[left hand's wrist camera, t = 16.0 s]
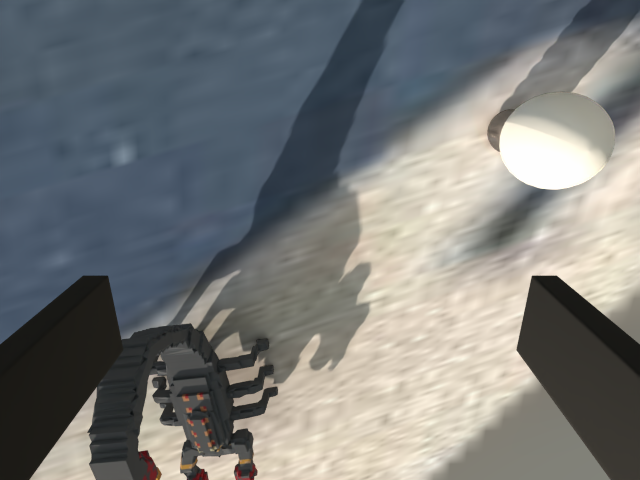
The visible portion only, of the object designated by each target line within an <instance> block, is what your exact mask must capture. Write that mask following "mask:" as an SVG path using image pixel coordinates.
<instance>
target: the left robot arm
mask: <svg viewBox="0 0 640 480" xmlns="http://www.w3.org/2000/svg"><path fill="white" fill-rule="evenodd" d="M122 351H123V345H122V340H121V336H120V331H119V326H118V321H117V317H116V312H115V307H114V302H113V297H112V293H111V288H110V283H109V278H108V276H82V277H81V278H80V279H79V280H77V281H76V282H75V283H74V284H73V285H71V286H70V287H69V288H68V289H67V290H65V291H64V292H63V293H62V294H61V295H59V296H58V297H57V298H56V299H55V300H53V301H52V302H51V303H50V304H49V305H47V306H46V307H45V308H44V309H43V310H41V311H40V312H39V313H38V314H36V315H35V316H34V317H33V318H32V319H30V320H29V321H28V322H27V323H26V324H24V325H23V326H22V327H21V328H20V329H18V330H17V331H16V332H15V333H14V334H12V335H11V336H10V337H9V338H8V339H6V340H5V341H4V342H3V343H1V344H0V480H29V479H30V478H31V477H32V475H33V474H34V473H35V471H36V470H37V468H38V467H39V466H40V464H41V463H42V462H43V460H44V459H45V457H46V456H47V455H48V453H49V452H50V450H51V449H52V448H53V446H54V445H55V444H56V442H57V441H58V439H59V438H60V437H61V435H62V434H63V433H64V431H65V430H66V428H67V427H68V426H69V424H70V423H71V422H72V420H73V419H74V417H75V416H76V415H77V413H78V412H79V411H80V409H81V408H82V406H83V405H84V404H85V402H86V401H87V400H88V398H89V397H90V395H91V394H92V393H93V391H94V390H95V389H96V387H97V386H98V384H99V383H100V382H101V380H102V379H103V378H104V376H105V375H106V373H107V372H108V371H109V369H110V368H111V367H112V365H113V364H114V362H115V361H116V360H117V358H118V357H119V356H120V354H121V353H122ZM517 351H518V353H519V354H520V356H521V357H522V358H523V360H524V361H525V362H526V364H527V365H528V367H529V368H530V369H531V371H532V372H533V373H534V375H535V376H536V378H537V379H538V380H539V382H540V383H541V384H542V386H543V387H544V389H545V390H546V391H547V393H548V394H549V395H550V397H551V398H552V400H553V401H554V402H555V404H556V405H557V406H558V408H559V409H560V411H561V412H562V413H563V415H564V416H565V417H566V419H567V420H568V422H569V423H570V424H571V426H572V427H573V428H574V430H575V431H576V433H577V434H578V435H579V437H580V438H581V439H582V441H583V442H584V444H585V445H586V446H587V448H588V449H589V450H590V452H591V453H592V455H593V456H594V457H595V459H596V460H597V461H598V463H599V464H600V466H601V467H602V468H603V470H604V471H605V472H606V474H607V475H608V477H609V478H610V479H611V480H640V344H638V343H637V342H636V341H635V340H634V339H632V338H631V337H630V336H629V335H628V334H626V333H625V332H624V331H623V330H622V329H620V328H619V327H618V326H617V325H616V324H614V323H613V322H612V321H611V320H610V319H608V318H607V317H606V316H605V315H604V314H602V313H601V312H600V311H599V310H597V309H596V308H595V307H594V306H593V305H591V304H590V303H589V302H588V301H587V300H585V299H584V298H583V297H582V296H581V295H579V294H578V293H577V292H576V291H575V290H573V289H572V288H571V287H570V286H569V285H567V284H566V283H565V282H564V281H562V280H561V279H560V278H559V277H558V276H532V278H531V283H530V288H529V293H528V297H527V302H526V307H525V312H524V317H523V321H522V326H521V331H520V336H519V340H518V345H517Z"/></svg>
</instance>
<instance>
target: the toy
mask: <svg viewBox="0 0 640 480" xmlns="http://www.w3.org/2000/svg"><path fill="white" fill-rule="evenodd" d="M122 345H123V351H122V353H121V354H120V356H119V357H118V358H117V360H116V361H115V362H114V364H113V365H112V367H111V368H110V369H109V371H108V372H107V373H106V375H105V376H104V378H103V379H102V380H101V382H100V383H99V384H98V386H97V398H96V402H95V406H94V413H93V419H92V425H91V427H90V429H89V431H88V432H87V433H90V434H89V437H90V439H91V441H92V442H91V444H90V450H91V454H92V460H91V462H90V463H89V465H90V467H91V470H92V472H93V474H94V476H95V478H96V480H160V477H161V475H162V474H161V472H160V470H159V469H158V467H156V465H155V463H154V461H153V460H152V458H151V457H150V456H149V453H148V450H147V451H140V452H138V442H139V441H138V438H137V437H138V436H139V433H140V425H141V422H142V418H143V416H142V411H143V407H144V402H145V398H146V392H147V384H148V382H147V381H148V377H149V375H153V374H158V376H161V375H167V379H168V383H169V388H170V390H165V389H166V387H167V385H166V379H165V377H156V378H153V380H152V383H153V386H154V388H158V389H157V390H156V392H155V393H154V394H153V395H152V396H153V398H154V401H155V402H156V403H160V407H161V408H165V409H164V411H163V413H162V415H161V417H160V421H161V423H162V424H163V425H168V426H183V429H184V432H185V435H186V438H187V440H186V442H184V445H183V449H182V451H183V452H182V457H181V464H180V473H184V474H185V475H186V476H187V480H208V474H207V472H205V470H204V469H200V468H199V467H198V466H196V463H197V461H198V460H197V457H198V456H200V455H202V456H219V457H220V456H221V455H226V454H232V453H236V454H238V455H239V463H238V464H237V465H236V466H235V470H234V475H235V478H236V480H254V476H256V475H257V469H256V468H255V464H254V463H253V460H252V459H253V455H254V453H253V448H252V445H253V436H252V433H251V432H249V431H248V429H241V430H237V431H236V432H235V433H233V428H234V426H233V422H234V420H239V419H244V418H249V417H254V416H258V415H261V414H264V413H265V410H266V407H267V404H268V400H269V397H273V396H276V395H278V388H277V387H272V388H267V389H265V390H264V392H263V396H262V399H261V400H260V401H259V402H258V403H252V404H247V405H241V406H237V407H235V406H233V403H234V400H233V398H240V397H242V396H244V395H246V394H254V393H256V392H258V391H260V390H262V389H263V384H264V379H265V376H267V375H270V374H273V372H274V368H273V366H264V367H260V369H259V373H258V378H255V379H254V381H246V382H241V383H235V384H232V385H229V381H228V378H227V374H226V371H228V370H235V369H241V368H247V367H252V366H254V363H255V361H256V359H257V355H258V353H259V352H260V351H264V350H267V349H268V348H269V344H268V339H261V340H257V345H255V346H253V348H252V351H251V354H247V355H241V356H238V357H233V358H224V359H220V360H219V358H218V356H217V355H216V353H215V352H214V350H213V349H212V347H211V346H210V344H209V342H208V340H207V338H206V336H205V334H204V332H203V331H198V330H196V329H194V328H193V326H192V324H182V325H172V326H162V327H157V328H150V329H146V330H142V331H138V332H134V334H133V335H132V336H131V338H130V339H122ZM159 355H161V358H162V360H163V361H164V362H162V361H159V362H157V360H158V358H159ZM173 408H174V410H175V412H173Z"/></svg>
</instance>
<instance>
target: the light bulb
mask: <svg viewBox="0 0 640 480" xmlns="http://www.w3.org/2000/svg"><path fill="white" fill-rule="evenodd" d="M488 140H489V142H490V144H491V145H492V146H493V148H494V149H496V150H497V151H499V152H500V154H501V157H502V160H503V162H504V164H505V165H506V167H507V168H508V170H509V171H510V172H511V173H512V174H513V175H514V176H515V177H516V178H518V179H519V180H521V181H523V182H524V183H526V184H529V185H532V186H535V187H538V188H543V189H565V188H568V187H572V186H575V185H579V184H581V183H583V182H585V181H587V180H589V179H590V178H592V177H593V176H594V175H596V174H597V173H598V172H599V171H600V170H601V169H602V168H603V167H604V166H605V164H606V163H607V162H608V160H609V158H610V157H611V154H612V152H613V149H614V143H615V130H614V126H613V122H612V120H611V119H610V117H609V115H608V114H607V112H606V111H605V110H604V109H603V108H602V107H601V106H600V105H599V104H598V103H596V102H595V101H593V100H591V99H590V98H588V97H586V96H583V95H580V94H576V93H570V92H554V93H546V94H542V95H539V96H536V97H534V98H532V99H530V100H528V101H526V102H524V103H523V104H521V105H520V106H519V107H517V108H516V109H515V110H505V111H503V112H500V113H499V114H497V115H496V116H495V117H494V118H493V119H492V121H491V122H490V124H489V127H488Z"/></svg>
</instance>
